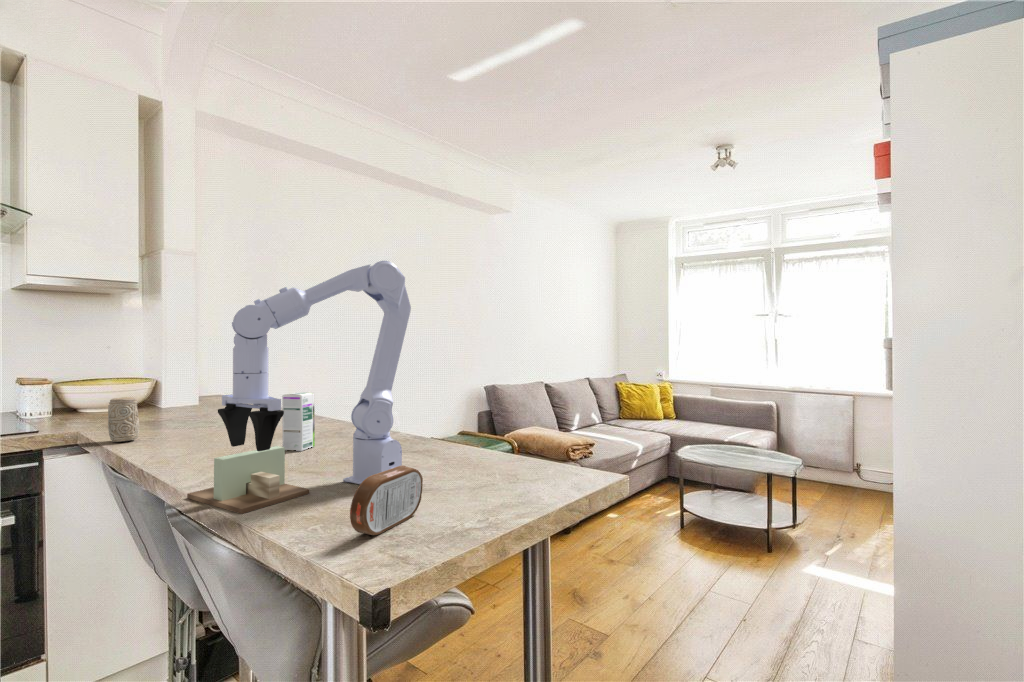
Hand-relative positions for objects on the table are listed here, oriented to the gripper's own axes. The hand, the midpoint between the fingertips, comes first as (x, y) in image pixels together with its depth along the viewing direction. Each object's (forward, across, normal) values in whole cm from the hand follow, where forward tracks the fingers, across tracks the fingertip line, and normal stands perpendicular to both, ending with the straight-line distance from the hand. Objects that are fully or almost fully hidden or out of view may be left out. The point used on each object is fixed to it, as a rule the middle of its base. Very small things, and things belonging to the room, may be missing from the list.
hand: (250, 447), depth 91 cm
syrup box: (+9, -27, +31) cm, 42 cm away
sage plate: (+8, 0, 0) cm, 8 cm away
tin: (+9, +32, +2) cm, 33 cm away
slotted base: (+9, 0, 0) cm, 9 cm away
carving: (+9, -75, +12) cm, 76 cm away
